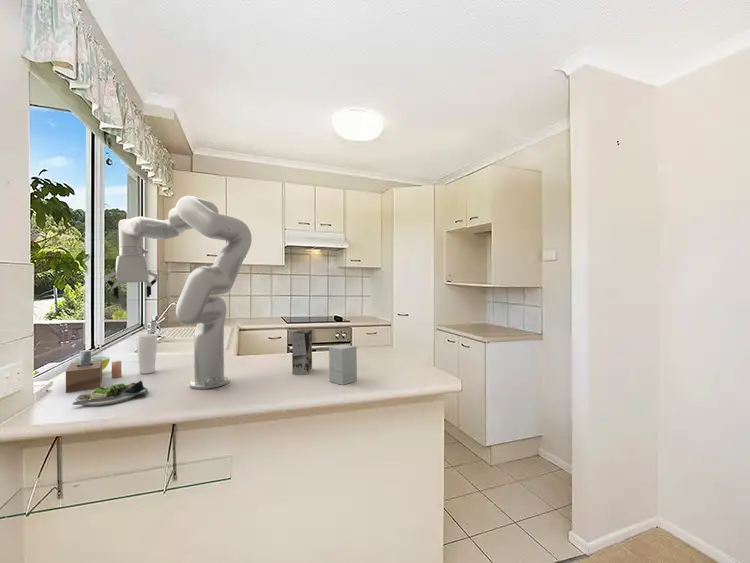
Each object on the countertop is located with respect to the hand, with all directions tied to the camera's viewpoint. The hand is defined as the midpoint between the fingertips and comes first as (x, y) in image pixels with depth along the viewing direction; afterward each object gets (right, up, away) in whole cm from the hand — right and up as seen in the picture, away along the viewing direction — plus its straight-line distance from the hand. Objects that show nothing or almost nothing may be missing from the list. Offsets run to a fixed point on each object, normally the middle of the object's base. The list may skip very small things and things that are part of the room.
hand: (133, 297), depth 136 cm
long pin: (-12, -31, -8) cm, 34 cm away
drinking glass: (0, -31, +9) cm, 32 cm away
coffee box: (+62, -30, +9) cm, 70 cm away
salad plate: (+9, -31, -22) cm, 39 cm away
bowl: (-20, -31, +6) cm, 37 cm away
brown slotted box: (-12, -31, -8) cm, 34 cm away
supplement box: (+80, -30, -6) cm, 86 cm away
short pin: (-8, -31, +2) cm, 32 cm away
